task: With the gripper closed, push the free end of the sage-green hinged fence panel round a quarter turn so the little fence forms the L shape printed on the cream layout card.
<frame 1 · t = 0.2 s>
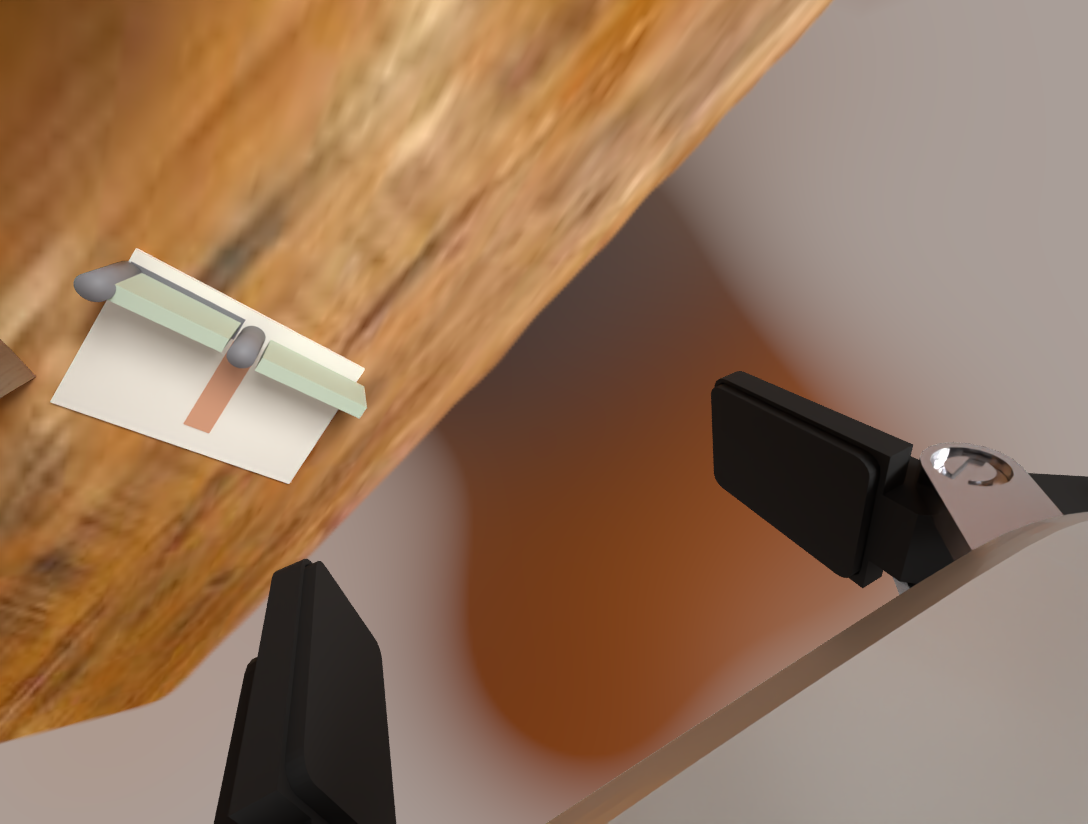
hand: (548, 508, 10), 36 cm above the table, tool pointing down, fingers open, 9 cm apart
layout card: (224, 382, 39), on the table
fixed fence panel: (253, 335, 38), resting on layout card
hinged fence panel: (315, 379, 38), point 3 cm above the table, hinge at 0.0°
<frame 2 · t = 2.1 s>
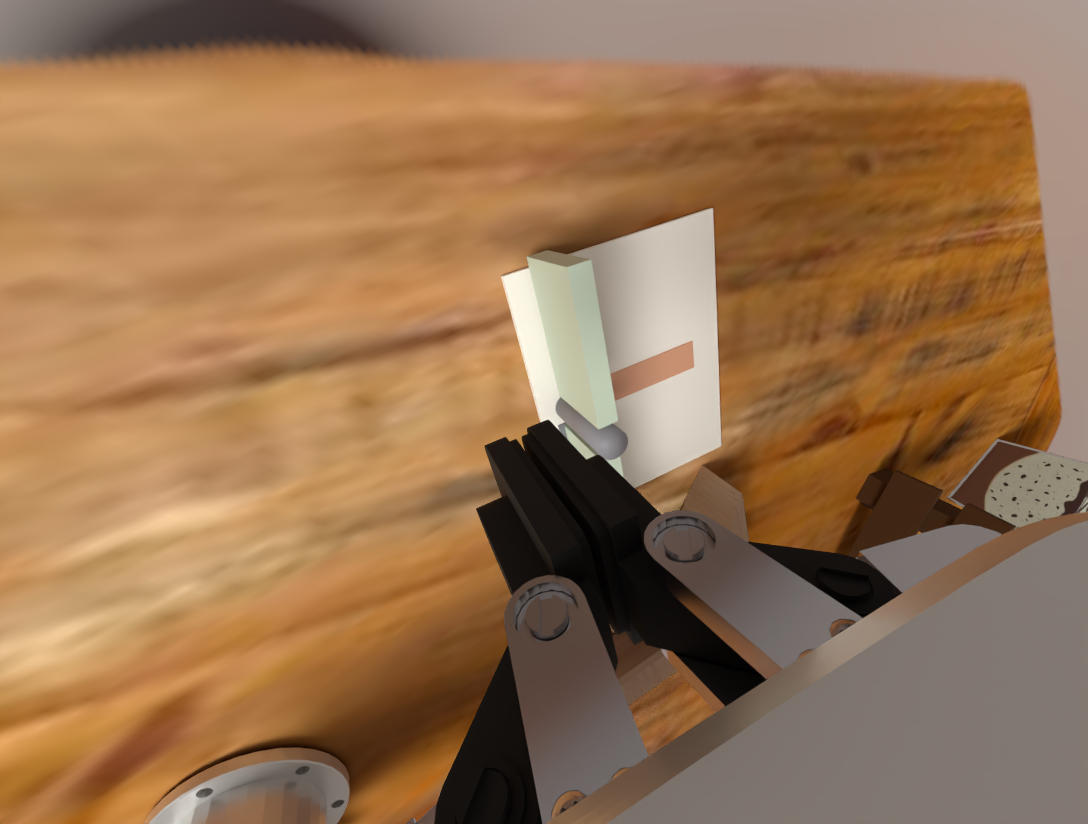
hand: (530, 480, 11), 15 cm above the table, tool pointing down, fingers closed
food container: (975, 476, 59), on the table
decorative fence: (824, 582, 54), on the table
layout card: (631, 376, 30), on the table
wooden block set: (641, 573, 40), on the table
fixed fence panel: (566, 404, 29), resting on layout card
hinged fence panel: (572, 339, 24), point 3 cm above the table, hinge at 0.0°
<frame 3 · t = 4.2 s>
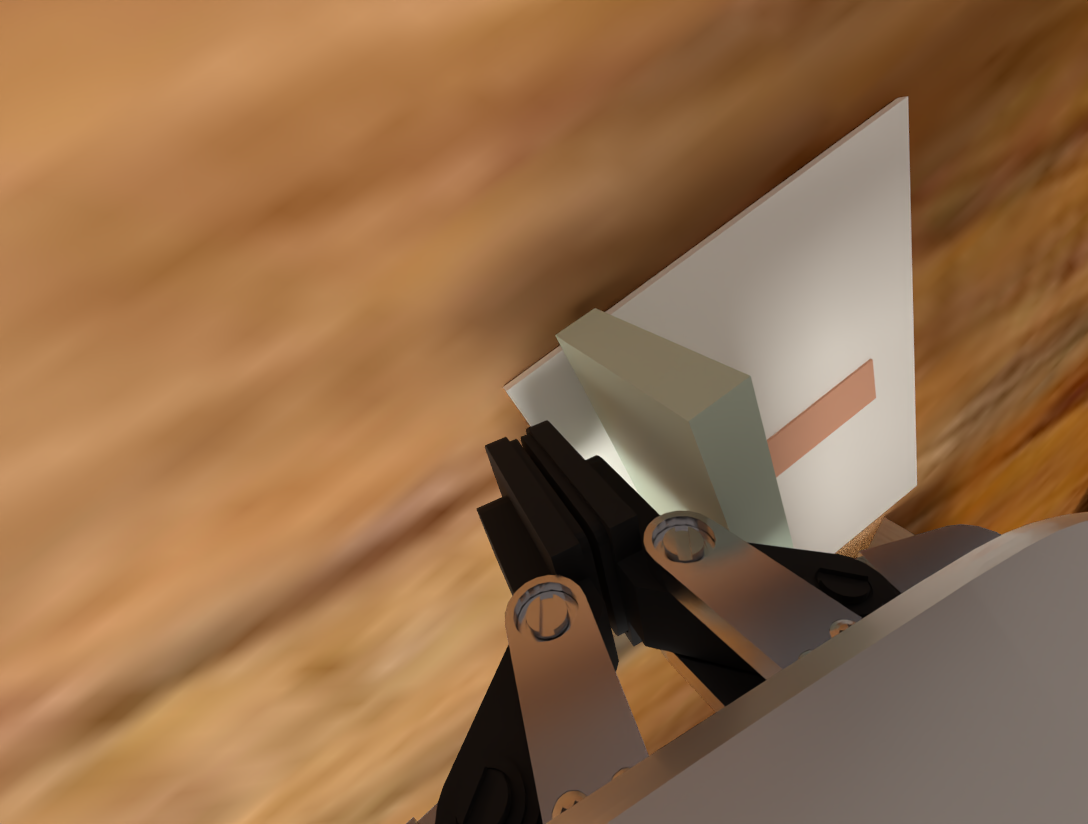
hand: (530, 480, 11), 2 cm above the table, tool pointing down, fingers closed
layout card: (771, 449, 17), on the table
wooden block set: (799, 662, 28), on the table
hinged fence panel: (687, 486, 11), point 3 cm above the table, hinge at 2.0°, touching gripper
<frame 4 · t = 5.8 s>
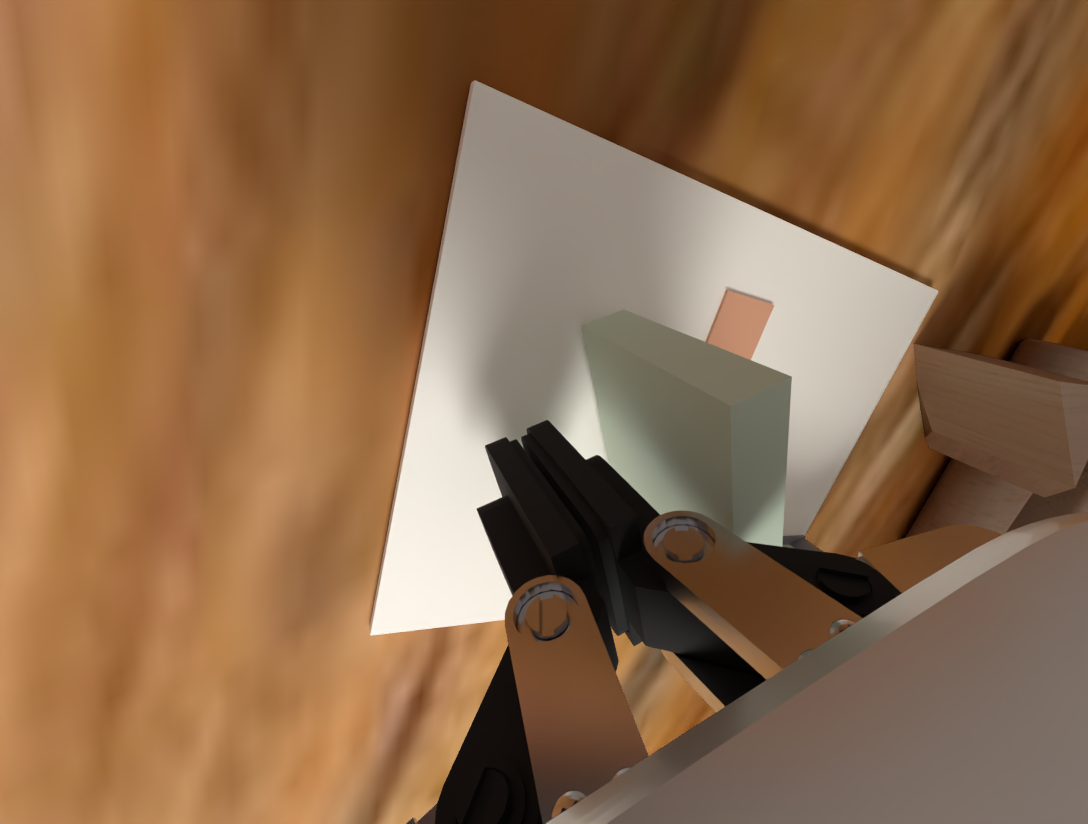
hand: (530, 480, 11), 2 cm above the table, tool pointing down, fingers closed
layout card: (684, 437, 15), on the table
wooden block set: (917, 492, 25), on the table
hinged fence panel: (680, 500, 11), point 3 cm above the table, hinge at 59.0°, touching gripper
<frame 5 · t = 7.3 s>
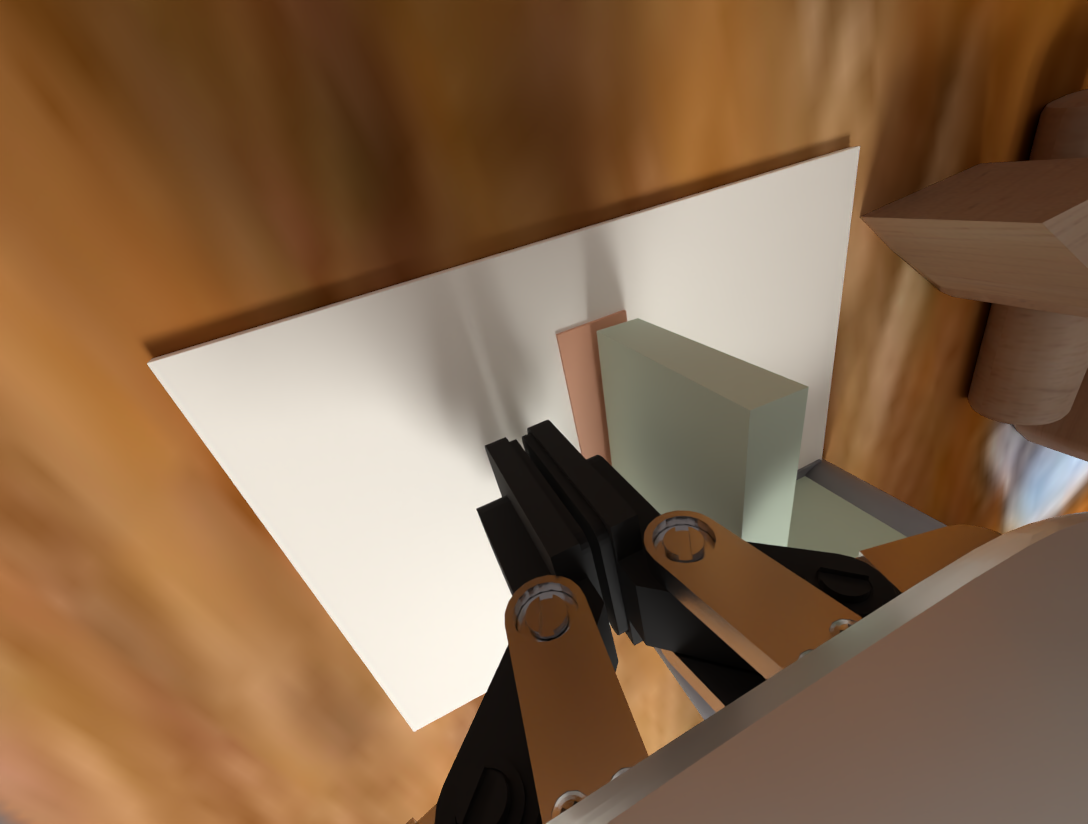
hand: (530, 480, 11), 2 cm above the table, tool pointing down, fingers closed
layout card: (610, 462, 14), on the table
wooden block set: (969, 335, 20), on the table
fixed fence panel: (628, 568, 17), resting on layout card
hinged fence panel: (683, 509, 11), point 3 cm above the table, hinge at 92.9°
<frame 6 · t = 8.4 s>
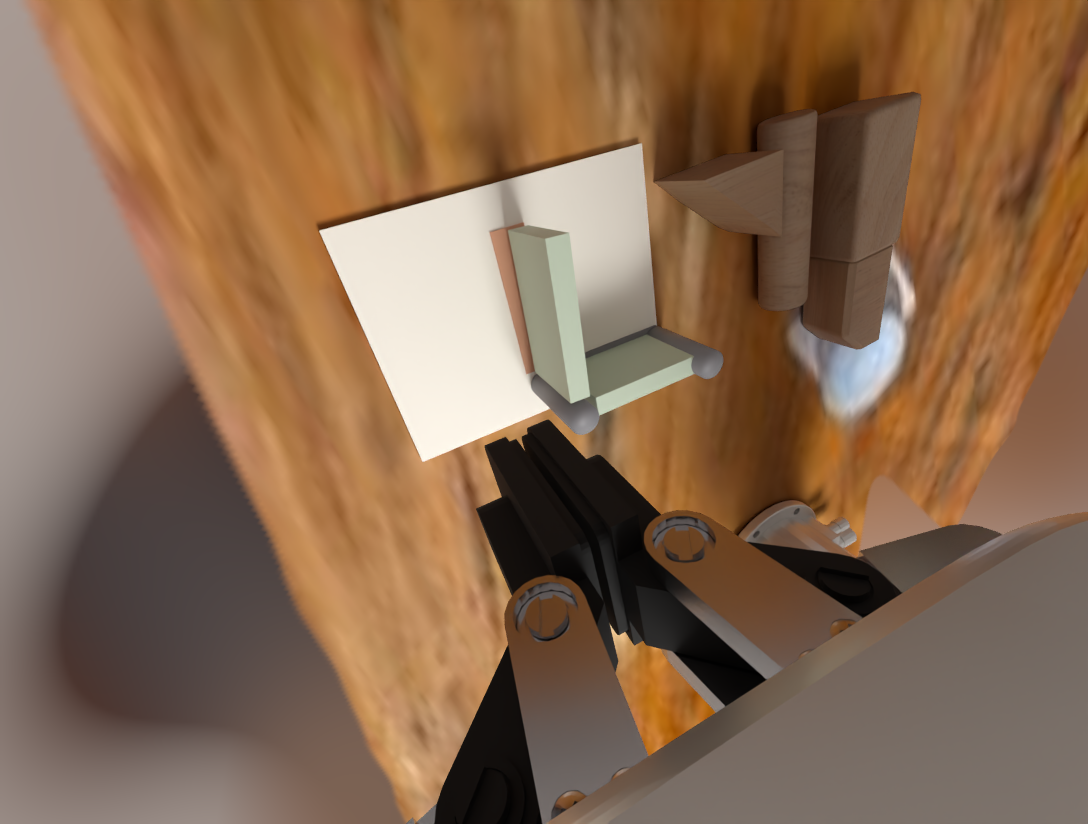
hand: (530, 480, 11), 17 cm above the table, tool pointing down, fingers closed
layout card: (524, 309, 27), on the table
wooden block set: (755, 260, 34), on the table
fixed fence panel: (542, 381, 30), resting on layout card
hinged fence panel: (549, 314, 24), point 3 cm above the table, hinge at 92.8°
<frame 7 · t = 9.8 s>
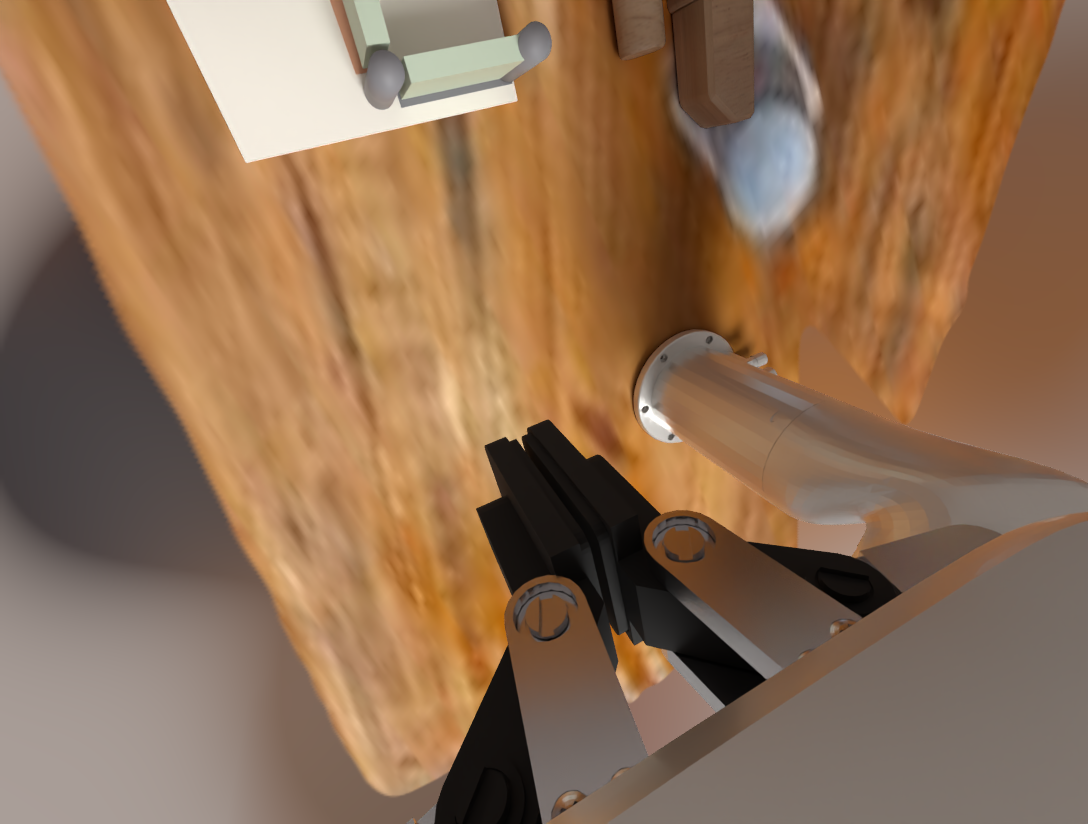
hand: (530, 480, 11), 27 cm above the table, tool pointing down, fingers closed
wooden block set: (616, 10, 32), on the table
fixed fence panel: (378, 93, 28), resting on layout card
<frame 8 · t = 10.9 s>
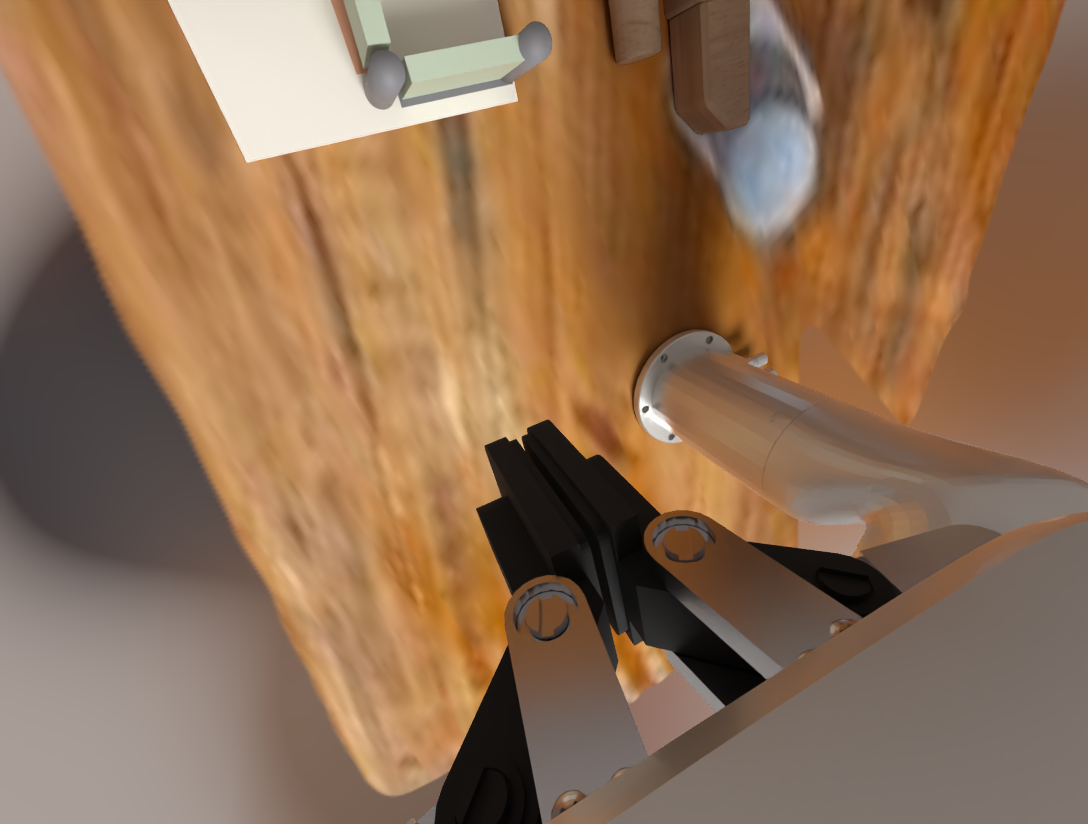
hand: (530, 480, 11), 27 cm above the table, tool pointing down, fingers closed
wooden block set: (613, 15, 32), on the table
fixed fence panel: (379, 93, 29), resting on layout card
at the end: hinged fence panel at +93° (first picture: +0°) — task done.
